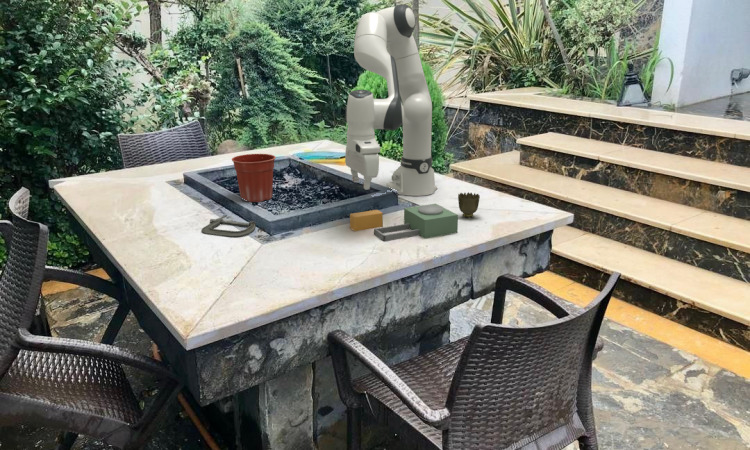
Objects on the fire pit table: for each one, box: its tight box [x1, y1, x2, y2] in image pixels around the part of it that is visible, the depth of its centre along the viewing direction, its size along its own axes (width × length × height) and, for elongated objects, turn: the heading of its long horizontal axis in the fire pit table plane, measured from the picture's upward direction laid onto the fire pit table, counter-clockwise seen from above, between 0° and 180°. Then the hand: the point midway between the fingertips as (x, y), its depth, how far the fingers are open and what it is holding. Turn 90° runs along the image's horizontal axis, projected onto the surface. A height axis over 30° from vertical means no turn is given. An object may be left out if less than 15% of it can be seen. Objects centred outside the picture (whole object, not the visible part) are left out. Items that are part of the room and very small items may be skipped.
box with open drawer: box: [373, 203, 459, 242], centre depth 185 cm, size 14×25×7 cm, turn 115°
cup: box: [457, 191, 480, 219], centre depth 199 cm, size 8×7×8 cm
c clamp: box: [201, 215, 257, 238], centre depth 192 cm, size 20×17×3 cm
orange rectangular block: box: [349, 209, 384, 232], centre depth 190 cm, size 4×10×5 cm, turn 115°
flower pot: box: [231, 153, 277, 203], centre depth 222 cm, size 16×16×16 cm
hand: (360, 185), depth 187 cm, fingers open, 8 cm apart
